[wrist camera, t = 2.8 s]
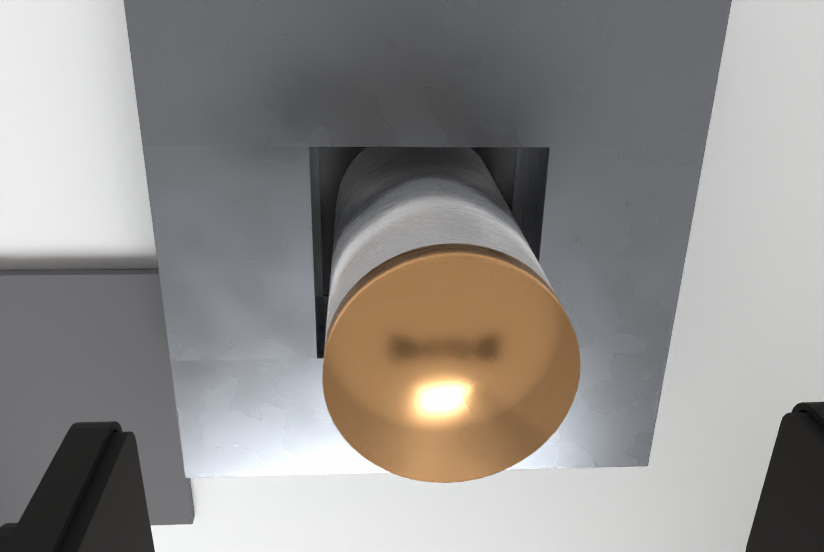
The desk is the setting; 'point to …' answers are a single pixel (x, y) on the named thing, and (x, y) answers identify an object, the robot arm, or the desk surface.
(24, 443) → the mat
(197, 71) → the housing
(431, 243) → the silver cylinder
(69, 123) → the desk surface
